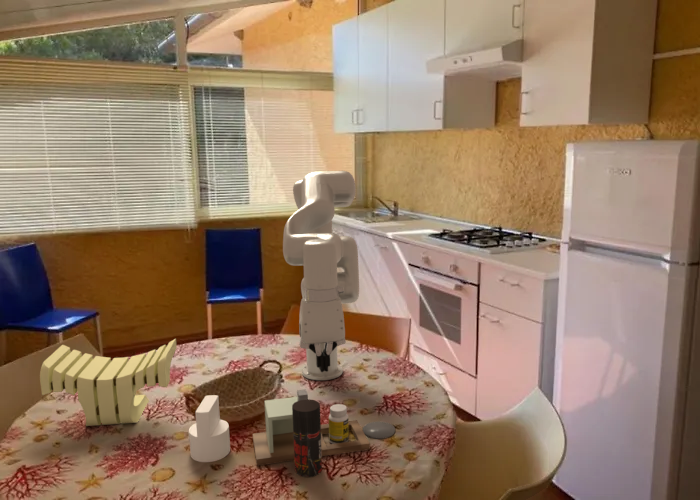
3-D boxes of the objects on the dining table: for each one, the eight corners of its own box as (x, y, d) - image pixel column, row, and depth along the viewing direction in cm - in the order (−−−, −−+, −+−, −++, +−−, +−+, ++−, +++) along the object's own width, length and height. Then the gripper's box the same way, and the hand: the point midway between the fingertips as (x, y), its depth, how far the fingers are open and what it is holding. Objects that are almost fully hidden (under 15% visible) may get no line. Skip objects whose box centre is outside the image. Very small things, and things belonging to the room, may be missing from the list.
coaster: (359, 425, 147) (359, 423, 147) (389, 421, 149) (389, 419, 149) (367, 440, 140) (367, 439, 140) (399, 436, 141) (399, 434, 141)
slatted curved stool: (46, 433, 146) (38, 366, 143) (69, 405, 162) (62, 344, 159) (169, 425, 149) (164, 359, 146) (180, 398, 165) (175, 338, 162)
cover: (266, 434, 140) (263, 388, 138) (307, 428, 143) (305, 384, 140) (270, 453, 132) (267, 405, 130) (313, 447, 134) (312, 399, 132)
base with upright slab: (197, 442, 141) (193, 395, 139) (234, 441, 140) (231, 395, 138) (185, 462, 132) (181, 412, 130) (225, 462, 132) (221, 412, 129)
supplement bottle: (346, 446, 137) (345, 412, 136) (327, 444, 138) (326, 411, 137) (350, 436, 142) (350, 403, 140) (331, 434, 143) (330, 402, 141)
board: (252, 439, 141) (252, 433, 141) (357, 425, 147) (357, 419, 147) (256, 465, 130) (256, 459, 130) (369, 449, 136) (369, 443, 135)
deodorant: (294, 463, 131) (292, 400, 128) (321, 461, 131) (319, 398, 128) (294, 478, 125) (292, 412, 122) (322, 476, 125) (320, 410, 122)
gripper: (349, 287, 138) (350, 360, 142) (286, 292, 135) (289, 367, 138) (357, 295, 131) (358, 372, 134) (290, 301, 127) (293, 379, 131)
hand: (323, 369), depth 136 cm, fingers closed
